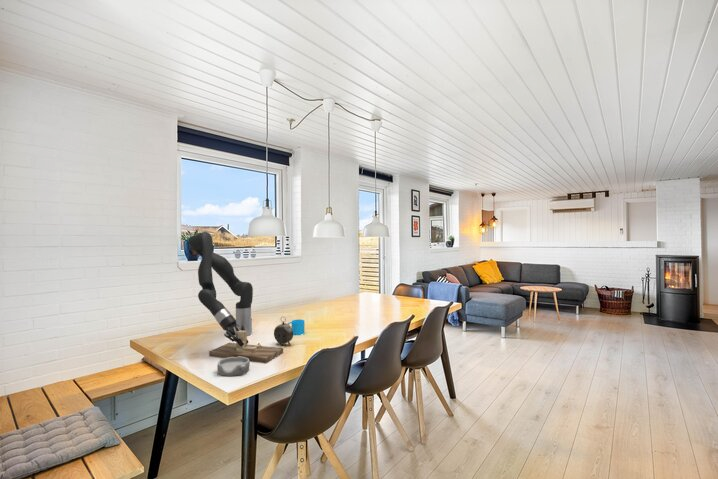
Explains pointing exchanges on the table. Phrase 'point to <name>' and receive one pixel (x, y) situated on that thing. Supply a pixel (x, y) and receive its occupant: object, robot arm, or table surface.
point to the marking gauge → (245, 343)
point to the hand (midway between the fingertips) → (244, 344)
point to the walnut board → (261, 355)
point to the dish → (233, 366)
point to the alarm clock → (283, 333)
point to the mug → (297, 326)
